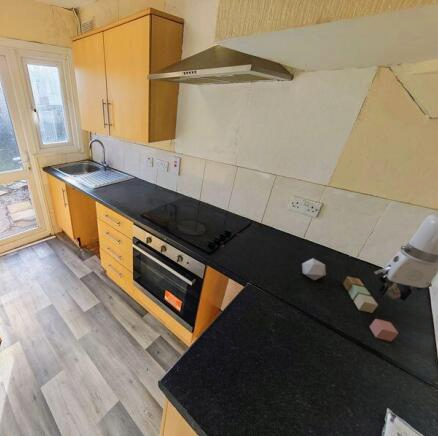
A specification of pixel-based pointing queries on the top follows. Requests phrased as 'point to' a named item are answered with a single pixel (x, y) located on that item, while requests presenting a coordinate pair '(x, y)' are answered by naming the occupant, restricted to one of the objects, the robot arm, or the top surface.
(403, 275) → the robot arm
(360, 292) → the block
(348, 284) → the block
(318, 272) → the die
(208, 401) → the top surface
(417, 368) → the top surface
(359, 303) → the block
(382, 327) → the block
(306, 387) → the top surface
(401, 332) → the top surface
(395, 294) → the figurine
